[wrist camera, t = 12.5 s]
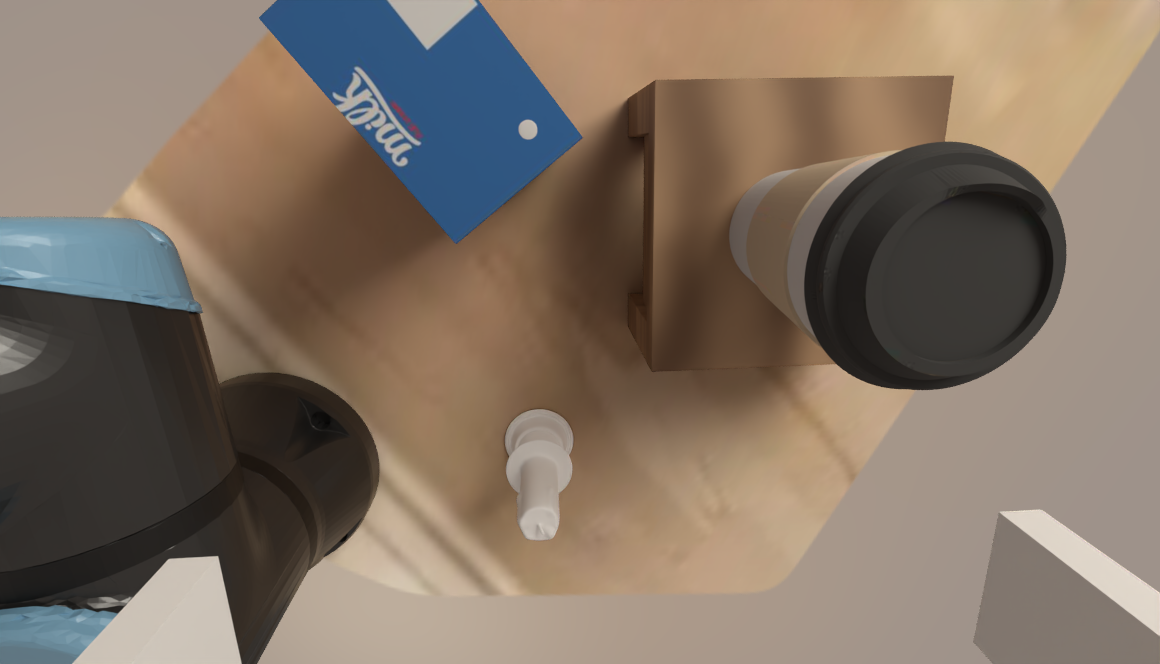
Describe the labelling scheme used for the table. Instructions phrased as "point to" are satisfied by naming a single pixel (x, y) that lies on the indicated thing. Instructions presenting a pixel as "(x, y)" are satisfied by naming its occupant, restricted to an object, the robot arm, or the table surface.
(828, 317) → the coffee cup
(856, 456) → the table surface
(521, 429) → the candle
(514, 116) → the milk carton
